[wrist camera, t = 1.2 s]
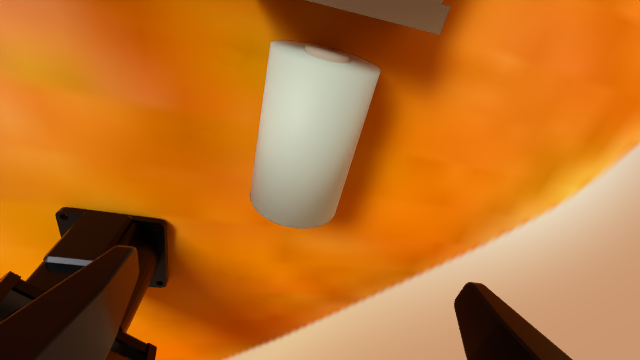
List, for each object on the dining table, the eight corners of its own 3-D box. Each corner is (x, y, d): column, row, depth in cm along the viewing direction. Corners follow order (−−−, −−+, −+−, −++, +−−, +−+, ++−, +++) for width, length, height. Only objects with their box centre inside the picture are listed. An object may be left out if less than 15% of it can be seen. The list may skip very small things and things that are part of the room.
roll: (330, 184, 21) (340, 236, 17) (254, 172, 20) (244, 225, 16) (368, 52, 17) (395, 78, 12) (273, 30, 16) (267, 50, 11)
